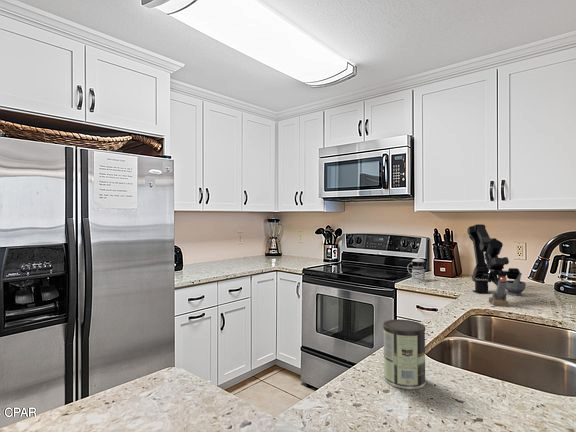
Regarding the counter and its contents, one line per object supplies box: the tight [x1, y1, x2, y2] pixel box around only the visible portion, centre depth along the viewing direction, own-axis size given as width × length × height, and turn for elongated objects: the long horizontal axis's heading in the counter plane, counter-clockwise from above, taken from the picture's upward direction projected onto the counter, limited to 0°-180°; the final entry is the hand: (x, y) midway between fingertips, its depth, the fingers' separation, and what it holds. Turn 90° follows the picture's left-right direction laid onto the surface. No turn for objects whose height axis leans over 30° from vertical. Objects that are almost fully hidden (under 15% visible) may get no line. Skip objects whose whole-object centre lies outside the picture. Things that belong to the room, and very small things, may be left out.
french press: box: [407, 243, 426, 282], centre depth 228 cm, size 10×12×25 cm
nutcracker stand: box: [488, 292, 509, 308], centre depth 167 cm, size 8×6×6 cm
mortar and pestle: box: [505, 272, 527, 297], centre depth 188 cm, size 11×9×12 cm
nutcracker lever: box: [495, 276, 508, 299], centre depth 163 cm, size 3×3×12 cm
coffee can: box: [382, 319, 427, 390], centre depth 89 cm, size 10×10×14 cm
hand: (500, 287), depth 164 cm, fingers closed, pressing on nutcracker lever
